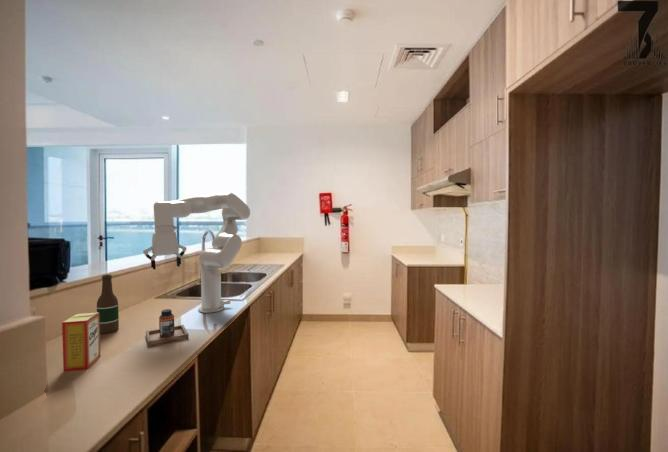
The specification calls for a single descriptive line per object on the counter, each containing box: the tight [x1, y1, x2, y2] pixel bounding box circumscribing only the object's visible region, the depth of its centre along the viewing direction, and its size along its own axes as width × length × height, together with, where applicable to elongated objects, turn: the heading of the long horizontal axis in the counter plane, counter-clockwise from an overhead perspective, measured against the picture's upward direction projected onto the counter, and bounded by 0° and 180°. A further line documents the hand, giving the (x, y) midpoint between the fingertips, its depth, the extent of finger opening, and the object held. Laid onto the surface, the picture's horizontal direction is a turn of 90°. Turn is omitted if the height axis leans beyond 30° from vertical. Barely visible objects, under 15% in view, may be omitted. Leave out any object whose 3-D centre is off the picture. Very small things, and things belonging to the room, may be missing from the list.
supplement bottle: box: [158, 308, 175, 337], centre depth 129 cm, size 5×5×10 cm
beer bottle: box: [96, 274, 120, 335], centre depth 136 cm, size 8×8×24 cm
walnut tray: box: [145, 324, 189, 348], centre depth 129 cm, size 14×13×2 cm
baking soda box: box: [61, 311, 101, 372], centre depth 106 cm, size 10×6×16 cm
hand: (166, 267), depth 143 cm, fingers open, 9 cm apart
